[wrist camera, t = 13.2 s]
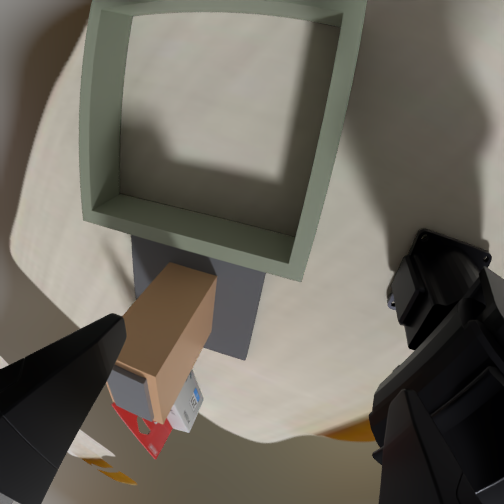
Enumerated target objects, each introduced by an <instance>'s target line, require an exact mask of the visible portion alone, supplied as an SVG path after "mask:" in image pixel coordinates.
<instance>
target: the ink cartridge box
mask: <svg viewBox="0 0 504 504" xmlns="http://www.w3.org/2000/svg"><path fill="white" fill-rule="evenodd" d="M202 402H203V397H202V394H201V392H200V389H199V386H198V384H197V381H196V378H195V376H194V373H193V370H191V372H190V374H189V376H188V378H187V379H186V381H185V383H184V385H183V387H182V389H181V391H180V393H179V395H178V397H177V399H176V401H175V403H174V405H173V407H172V408H171V410H170V412H169V414H168V416H167V418H166V420H165V422H164V424H160V423H158V422H156V421H152V422H151V421H148V420H146V419H144V418H142V417H141V418H142V419H143V420H144V422H145V423H146V425H147V426H148V428H149V429H150V431H149V433H148V434H143V433H140V432H139V430H138V423H137V415H135V414H133V413H131V412H129V411H127V410H125V409H123V408H121V407H118V406H116V404H115V402H112V404H111V405H112V406H113V408H114V409H115V411H116V412H117V413H118V415H119V416H120V417H121V418H122V420H123V421H124V422H125V424H126V425H127V426H128V428H129V429H130V430H131V431H132V433H133V434H134V435H135V436H136V438H137V439H138V440H139V441H140V443H141V444H142V445H143V446H144V447H145V448H146V450H148V452H149V453H150V454H151V456H152V457H153V458H154V459H157V457H158V455H159V453H160V451H161V449H162V448H163V446H164V444H165V442H166V440H167V438H168V436H169V434H170V432H171V430H172V429H177V430H181V431H184V432H188V433H189V432H190V430H191V428H192V425H193V423H194V421H195V418H196V416H197V414H198V411H199V409H200V407H201V404H202Z"/></svg>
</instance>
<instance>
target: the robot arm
mask: <svg viewBox="0 0 504 504" xmlns="http://www.w3.org/2000/svg"><path fill="white" fill-rule="evenodd" d="M423 235H427V237H426V238H425V239H421V238H422V236H423ZM486 256H487V258H486V259H485V260H483V259H484V258H485V257H486ZM491 259H492V256H491V254H490V253H489V252H488V251H486V250H484V249H481V248H478V247H476V246H473V245H470V244H468V243H465V242H462V241H459V240H457V239H454V238H451V237H448V236H445V235H442V234H440V233H437V232H434V231H431V230H428V229H421V230H420V231H418V233H417V235H416V238H415V240H414V242H413V245H412V247H411V250H410V252H409V254H408V255H406V256H405V257H404V258H403V260H402V263H401V265H400V267H399V269H398V272H397V274H396V276H395V278H394V280H393V282H392V285H391V287H392V291H391V293H390V295H389V297H388V300H387V303H388V307H389V308H390V309H393V310H396V312H397V318H398V321H399V324H400V325H403V326H405V332H406V337H407V343H408V347H409V349H412V350H415V351H414V352H413V353H412V354H411V355H410V356H409V357H408V358H407V359H406V360H405V361H404V362H403V363H402V364H401V365H399V366H397V367H396V368H395V369H394V370H393V372H392V374H390V375H389V376H388V377H387V378H386V379H385V380H384V381H383V382H382V383H381V384H380V385H379V387H378V389H377V391H376V392H375V394H374V401H373V408H372V412H371V413H370V414H369V420H370V425H371V430H372V432H373V434H374V437H375V439H376V442H377V443H378V445H379V446H380V449H378V450H376V451H375V452H373V454H372V456H373V458H374V459H375V460H376V461H377V462H379V463H380V464H381V465H382V474H381V486H380V496H379V504H504V279H502V278H501V277H500V276H498V275H497V274H495V273H494V272H493V271H491V270H490V269H488V266H489V264H490V262H491ZM393 301H394V302H395V303H392V302H393ZM126 337H127V333H126V327H125V321H124V318H123V317H122V316H119V315H117V314H114V313H111V314H109V315H107V316H105V317H103V318H101V319H99V320H97V321H95V322H93V323H91V324H89V325H87V326H85V327H83V328H81V329H79V330H77V331H75V332H73V333H71V334H69V335H67V336H66V337H63V338H61V339H60V340H58V341H56V342H54V343H52V344H50V345H48V346H46V347H44V348H42V349H40V350H38V351H36V352H34V353H32V354H30V355H28V356H27V357H25V359H24V358H23V359H20V360H18V361H17V362H15V363H12V364H10V365H8V366H6V367H4V368H2V369H0V504H12V503H13V501H16V502H18V503H20V504H41V503H42V501H43V499H44V497H45V495H46V493H47V491H48V489H49V487H50V485H51V482H52V481H53V479H54V476H55V475H56V473H57V471H58V468H59V466H60V465H61V463H62V461H63V459H64V457H65V455H66V453H67V451H68V449H69V447H70V446H71V444H72V442H73V440H74V438H75V436H76V435H77V433H78V431H79V429H80V427H81V425H82V423H83V422H84V420H85V418H86V416H87V415H88V413H89V411H90V409H91V407H92V406H93V404H94V402H95V401H96V399H97V397H98V395H99V394H100V392H101V390H102V388H103V387H104V385H105V383H106V382H107V380H108V378H109V376H110V374H111V372H112V370H113V367H114V365H115V363H116V361H117V358H118V356H119V354H120V352H121V350H122V347H123V345H124V343H125V341H126Z"/></svg>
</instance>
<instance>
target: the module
mask: <svg viewBox="0 0 504 504" xmlns="http://www.w3.org/2000/svg"><path fill="white" fill-rule="evenodd" d="M216 283H217V276H215V275H211V274H208V273H205V272H201V271H198V270H194V269H191V268H188V267H184V266H181V265H178V264H174V263H171V262H169V263H168V264H167V266H166V267H165V268H164V269H163V270H162V271H161V272H160V273H159V275H158V276H157V277H156V278H155V279H154V280H153V281H152V283H151V284H150V285H149V286H148V287H147V288H146V289H145V291H144V292H143V293H142V294H141V295H140V296H139V297H138V299H137V300H136V301H135V302H134V303H133V304H132V306H131V307H130V308H129V309H128V310H127V312H126V313H125V314H124V315H123V316H122V317H123V318H124V321H125V327H126V333H127V337H126V341H125V343H124V345H123V347H122V350H121V352H120V354H119V356H118V358H117V361H116V363H115V365H114V367H113V370H112V372H111V374H110V376H109V378H108V380H107V382H106V384H107V386H108V389H109V392H110V395H111V397H112V400H113V402H115V404H116V406H118V407H121V408H123V409H125V410H127V411H129V412H131V413H133V414H135V415H137V416H140V417H142V418H144V419H146V420H148V421H151V422H152V421H156V422H158V423H160V424H164V422H165V420H166V418H167V416H168V414H169V412H170V410H171V408H172V407H173V405H174V403H175V401H176V399H177V397H178V395H179V393H180V391H181V389H182V387H183V385H184V383H185V381H186V379H187V378H188V376H189V374H190V372H191V370H192V368H193V366H194V364H195V362H196V360H197V358H198V356H199V354H200V352H201V350H202V348H203V347H204V345H205V343H206V341H207V339H208V337H209V335H210V333H211V331H212V321H213V311H214V302H215V292H216Z"/></svg>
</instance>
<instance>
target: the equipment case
mask: <svg viewBox="0 0 504 504" xmlns="http://www.w3.org/2000/svg"><path fill="white" fill-rule="evenodd" d="M366 5H367V0H92V5H91V10H90V15H89V21H88V27H87V33H86V40H85V47H84V56H83V65H82V76H81V89H80V108H79V168H80V188H81V202H82V213H83V220H84V221H87V222H90V223H94V224H97V225H100V226H104V227H107V228H110V229H114V230H117V231H121V232H124V233H127V234H131V235H134V236H138V237H141V238H144V239H148V240H151V241H155V242H158V243H162V244H165V245H169V246H172V247H176V248H179V249H183V250H186V251H190V252H193V253H197V254H200V255H204V256H207V257H211V258H215V259H218V260H222V261H225V262H229V263H232V264H236V265H240V266H243V267H247V268H250V269H254V270H258V271H261V272H265V273H269V274H272V275H276V276H280V277H283V278H287V279H291V280H294V281H298V282H301V281H302V278H303V275H304V272H305V268H306V265H307V261H308V258H309V255H310V251H311V248H312V244H313V241H314V237H315V234H316V230H317V227H318V223H319V219H320V216H321V212H322V208H323V205H324V201H325V197H326V193H327V189H328V186H329V182H330V178H331V174H332V170H333V166H334V162H335V158H336V154H337V150H338V145H339V141H340V137H341V133H342V128H343V124H344V119H345V115H346V110H347V106H348V101H349V97H350V92H351V87H352V82H353V77H354V72H355V67H356V62H357V57H358V51H359V46H360V41H361V35H362V29H363V23H364V17H365V11H366ZM178 12H231V13H248V14H260V15H270V16H279V17H287V18H294V19H300V20H306V21H312V22H317V23H322V24H327V25H332V26H337V27H341V31H340V36H339V42H338V47H337V52H336V58H335V63H334V68H333V73H332V78H331V83H330V88H329V93H328V98H327V103H326V108H325V113H324V117H323V122H322V127H321V131H320V136H319V140H318V145H317V149H316V154H315V158H314V163H313V167H312V171H311V176H310V180H309V184H308V188H307V193H306V197H305V201H304V205H303V209H302V213H301V217H300V221H299V225H298V229H297V233H296V237H292V236H289V235H285V234H281V233H277V232H273V231H269V230H266V229H262V228H258V227H254V226H250V225H246V224H242V223H238V222H234V221H230V220H226V219H222V218H218V217H214V216H210V215H206V214H202V213H198V212H194V211H190V210H185V209H181V208H177V207H173V206H169V205H165V204H160V203H156V202H152V201H148V200H143V199H139V198H135V197H130V196H126V195H121V194H119V153H120V124H121V107H122V94H123V83H124V73H125V64H126V56H127V49H128V42H129V35H130V29H131V23H132V17H133V16H139V15H149V14H161V13H178Z"/></svg>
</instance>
